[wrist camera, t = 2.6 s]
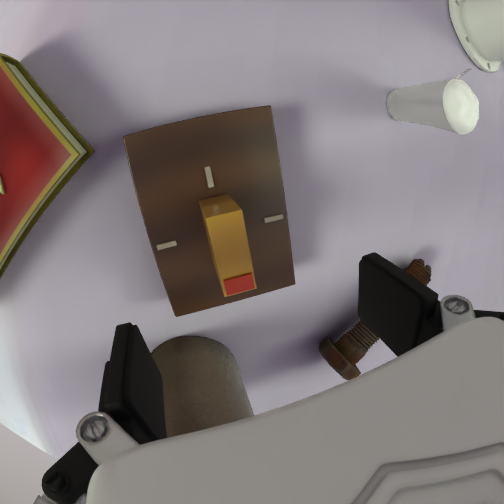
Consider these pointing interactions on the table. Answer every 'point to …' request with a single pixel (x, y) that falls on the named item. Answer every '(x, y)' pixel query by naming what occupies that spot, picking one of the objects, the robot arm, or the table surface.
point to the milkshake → (436, 105)
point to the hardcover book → (31, 155)
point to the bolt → (362, 334)
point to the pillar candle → (200, 385)
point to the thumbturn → (228, 244)
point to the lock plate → (206, 186)
